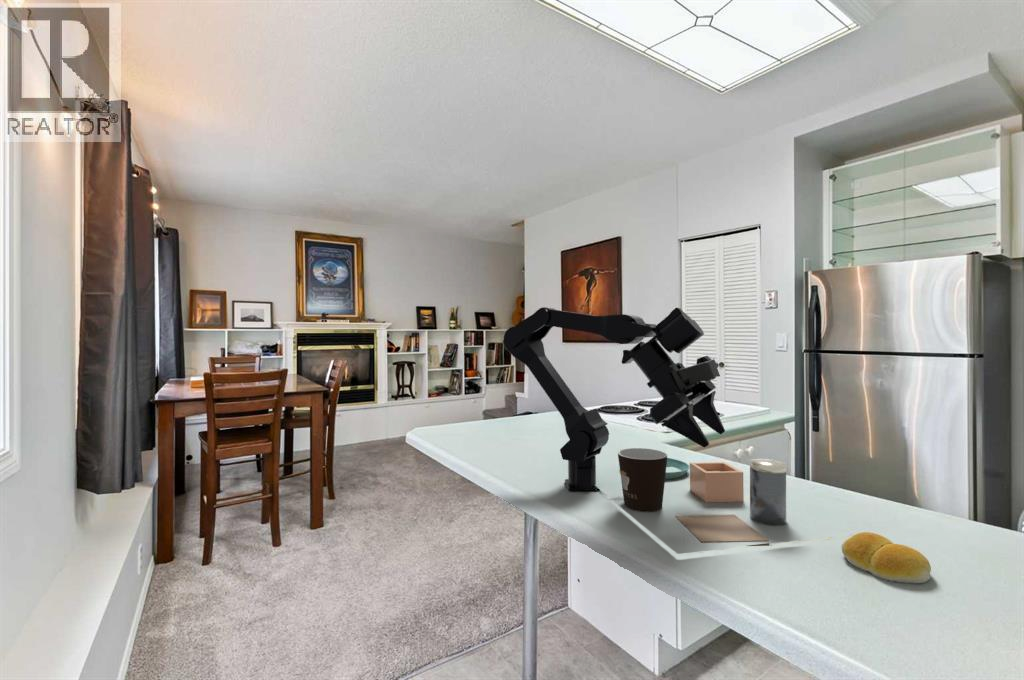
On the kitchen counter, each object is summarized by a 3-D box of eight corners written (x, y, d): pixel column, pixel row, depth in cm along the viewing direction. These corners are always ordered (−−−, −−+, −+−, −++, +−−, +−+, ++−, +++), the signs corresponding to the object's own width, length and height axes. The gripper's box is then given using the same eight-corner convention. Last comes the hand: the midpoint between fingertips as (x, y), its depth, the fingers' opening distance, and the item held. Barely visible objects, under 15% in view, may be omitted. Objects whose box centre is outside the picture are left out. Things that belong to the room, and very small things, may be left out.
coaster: (675, 520, 77) (675, 515, 77) (734, 519, 77) (734, 514, 77) (701, 547, 67) (701, 541, 67) (769, 545, 67) (769, 540, 67)
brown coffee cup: (671, 519, 77) (670, 460, 77) (619, 516, 79) (618, 458, 79) (663, 496, 89) (662, 445, 89) (617, 494, 90) (616, 443, 90)
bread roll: (906, 592, 55) (906, 559, 55) (831, 559, 63) (831, 530, 63) (948, 579, 58) (948, 547, 58) (871, 549, 66) (871, 521, 66)
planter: (690, 493, 91) (689, 462, 91) (725, 492, 91) (724, 462, 91) (705, 505, 84) (705, 472, 84) (743, 505, 84) (743, 472, 84)
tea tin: (743, 517, 78) (743, 458, 78) (774, 517, 78) (773, 458, 78) (761, 530, 73) (761, 467, 72) (793, 529, 73) (793, 466, 73)
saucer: (700, 484, 97) (700, 472, 97) (630, 485, 97) (630, 472, 97) (676, 466, 111) (676, 455, 111) (615, 466, 111) (615, 455, 111)
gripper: (672, 347, 75) (739, 427, 70) (708, 338, 89) (766, 404, 84) (625, 386, 81) (683, 462, 76) (666, 371, 95) (717, 435, 90)
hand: (715, 439), depth 81 cm, fingers open, 9 cm apart
